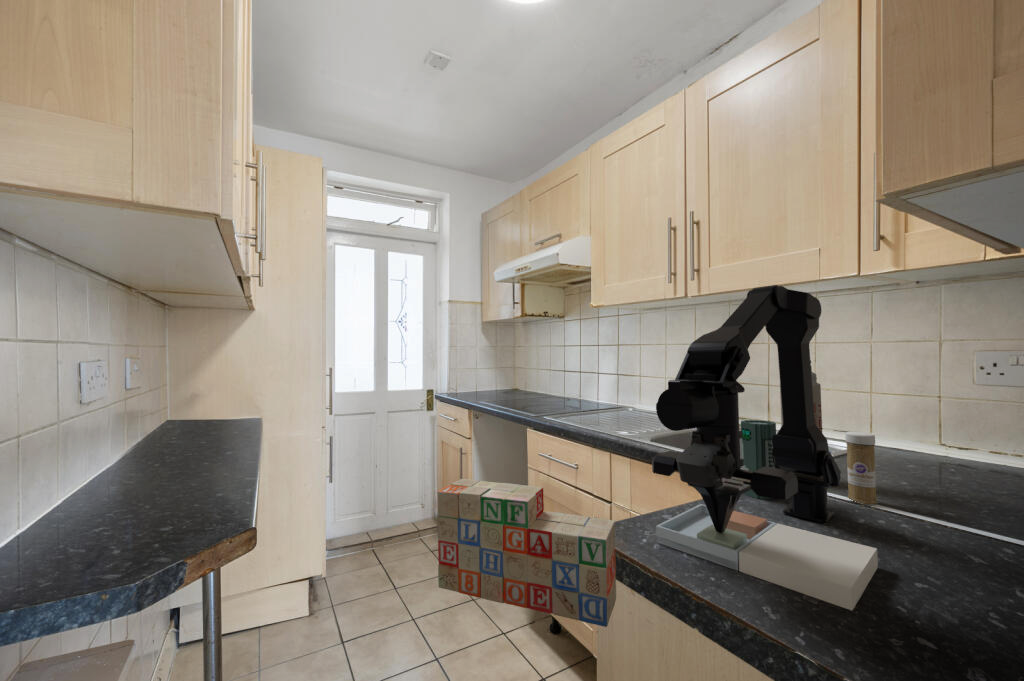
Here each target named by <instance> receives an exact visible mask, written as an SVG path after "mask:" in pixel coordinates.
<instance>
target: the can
mask: <svg viewBox="0 0 1024 681" xmlns="http://www.w3.org/2000/svg"><path fill="white" fill-rule="evenodd" d="M740 431H743V438H740V444H741V459H743V463H744V466H742V467H741V469H742V470H748V471H753V472H754V471H756V470H758V469H760V468H762V467H764V466H765V467H771V468H775V466H774V462H773V457H772V450H773V444H772V437H773V435H774V434H777V422H774V421H769V420H763V419H762V420H759V419H756V420H755V419H754V420H753V419H746V420H745V419H744V420H741V421H740ZM743 495H745V496H747V497H749V498H753V499H760V500H769V501H770V500H773V501H774V500H775V499H772V498H767V497H762V496H758V495H756V493H755V492H754V491H753V490H752V489H751V490H750V491H748V492H746V493H744V494H743Z"/></svg>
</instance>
